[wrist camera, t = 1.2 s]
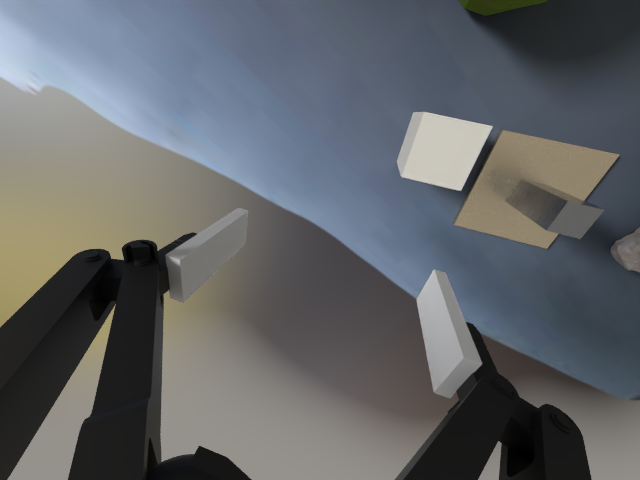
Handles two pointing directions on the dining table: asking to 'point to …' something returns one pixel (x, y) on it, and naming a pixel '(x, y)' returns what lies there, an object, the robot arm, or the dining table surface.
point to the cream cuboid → (441, 149)
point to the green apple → (496, 5)
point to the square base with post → (534, 190)
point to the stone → (628, 251)
